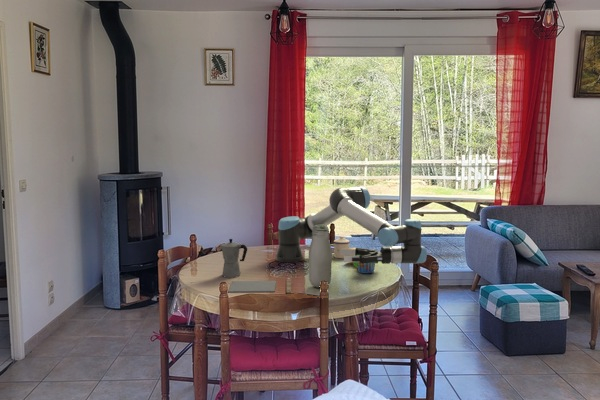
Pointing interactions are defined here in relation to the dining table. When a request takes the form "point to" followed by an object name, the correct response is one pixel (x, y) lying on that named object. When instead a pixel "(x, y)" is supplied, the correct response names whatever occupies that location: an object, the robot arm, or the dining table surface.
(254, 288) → the mat
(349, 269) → the dining table surface
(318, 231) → the grey green rounded cylinder
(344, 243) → the teacup with lid
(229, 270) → the coffeepot
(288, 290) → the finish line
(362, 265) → the snack cup
